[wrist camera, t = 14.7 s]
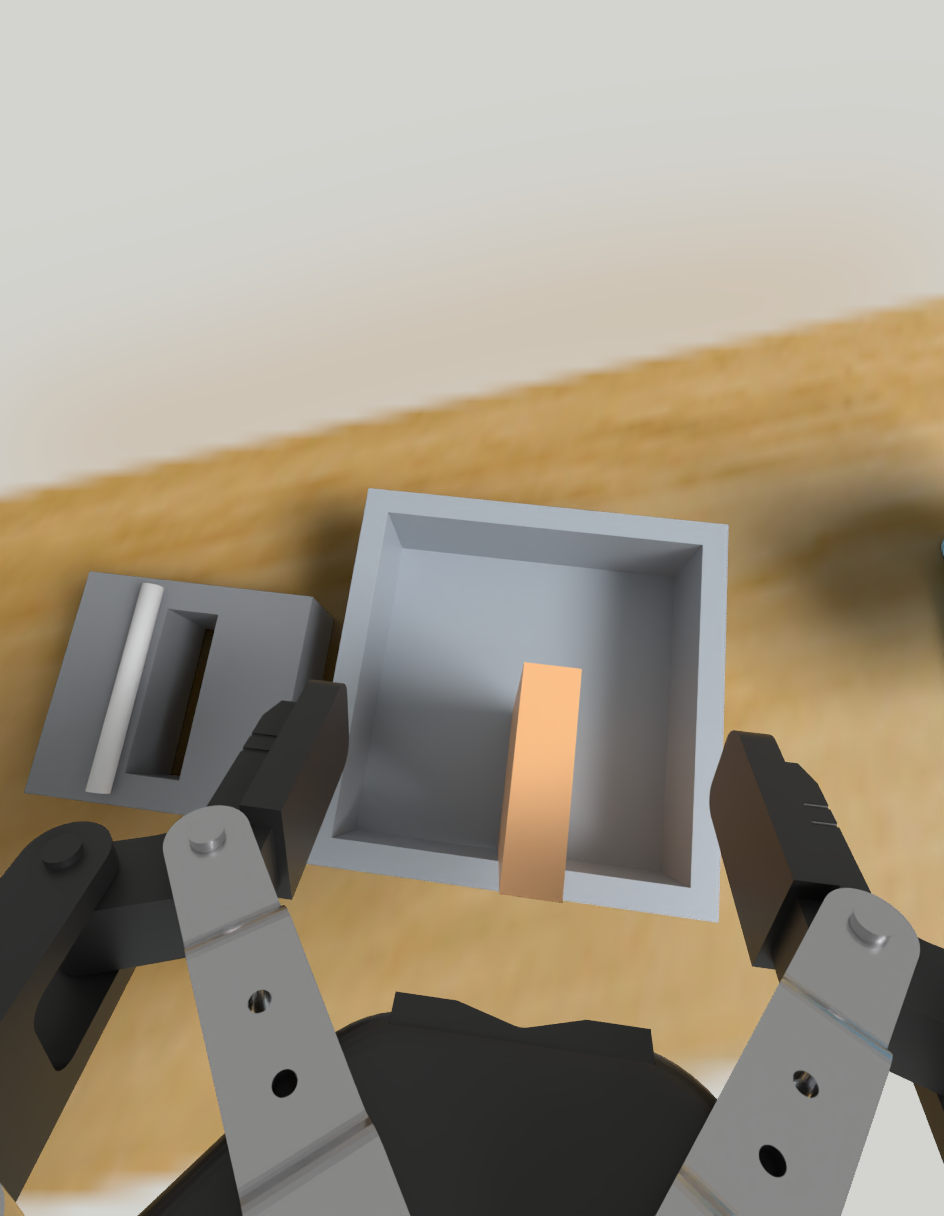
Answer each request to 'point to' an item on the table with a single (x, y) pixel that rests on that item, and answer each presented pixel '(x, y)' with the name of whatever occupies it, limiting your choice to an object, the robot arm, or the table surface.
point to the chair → (942, 547)
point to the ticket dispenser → (169, 687)
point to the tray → (488, 683)
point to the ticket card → (539, 783)
